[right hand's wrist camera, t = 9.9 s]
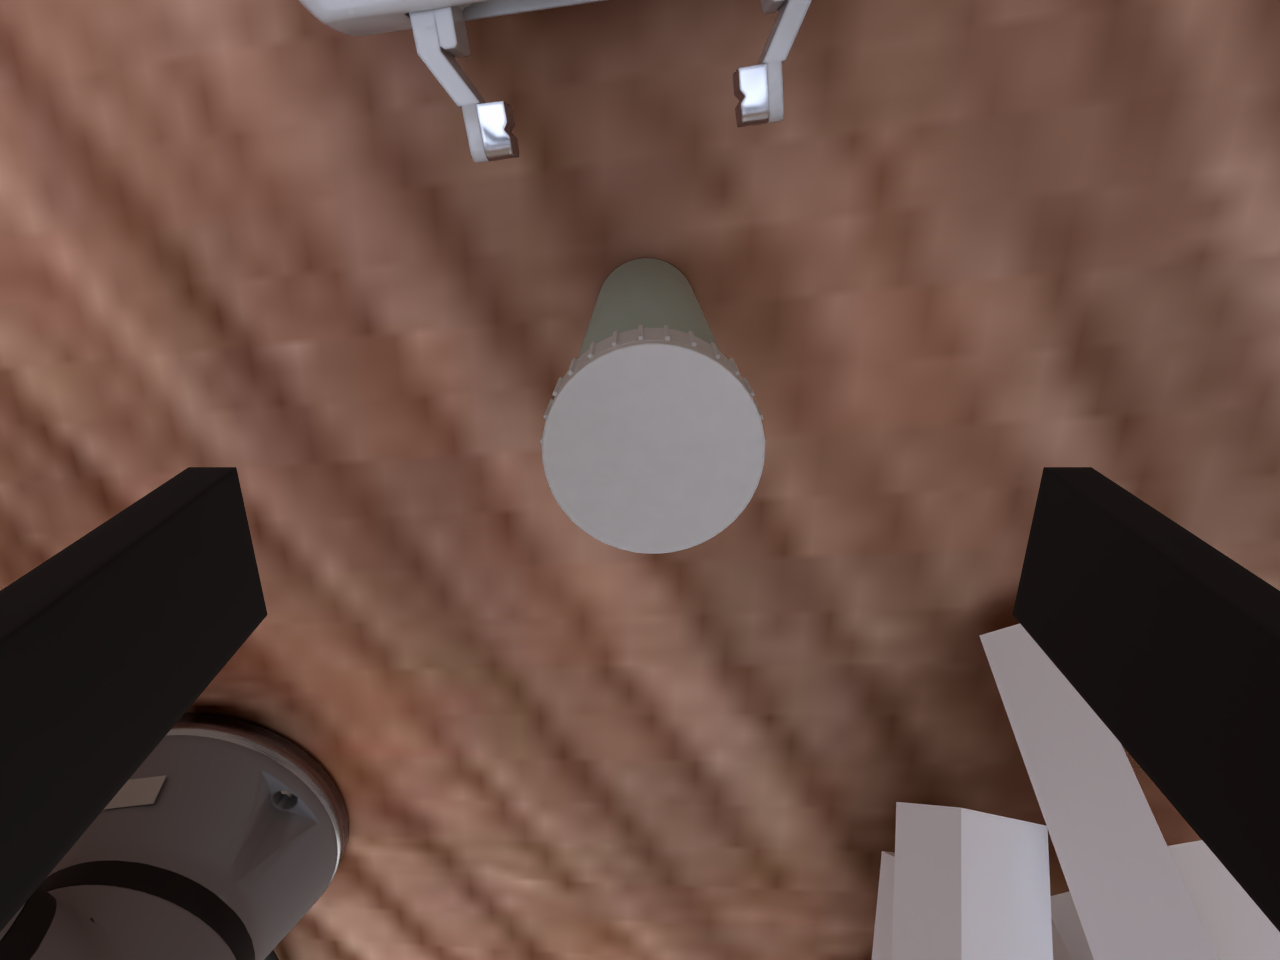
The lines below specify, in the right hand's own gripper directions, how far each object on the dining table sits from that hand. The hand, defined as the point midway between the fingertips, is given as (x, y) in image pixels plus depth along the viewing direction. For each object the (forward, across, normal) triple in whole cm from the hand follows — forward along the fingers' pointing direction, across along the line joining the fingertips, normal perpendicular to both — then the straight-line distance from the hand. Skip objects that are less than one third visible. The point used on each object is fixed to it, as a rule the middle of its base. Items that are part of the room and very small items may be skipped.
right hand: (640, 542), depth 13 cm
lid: (+5, 0, 0) cm, 5 cm away
